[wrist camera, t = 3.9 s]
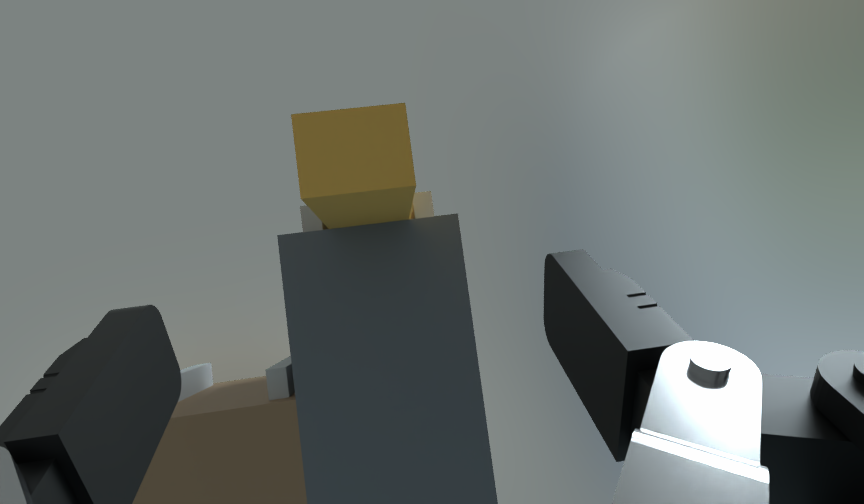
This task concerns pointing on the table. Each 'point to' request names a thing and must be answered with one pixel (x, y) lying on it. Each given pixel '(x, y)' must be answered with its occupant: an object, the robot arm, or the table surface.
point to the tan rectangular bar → (355, 164)
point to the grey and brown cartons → (345, 383)
